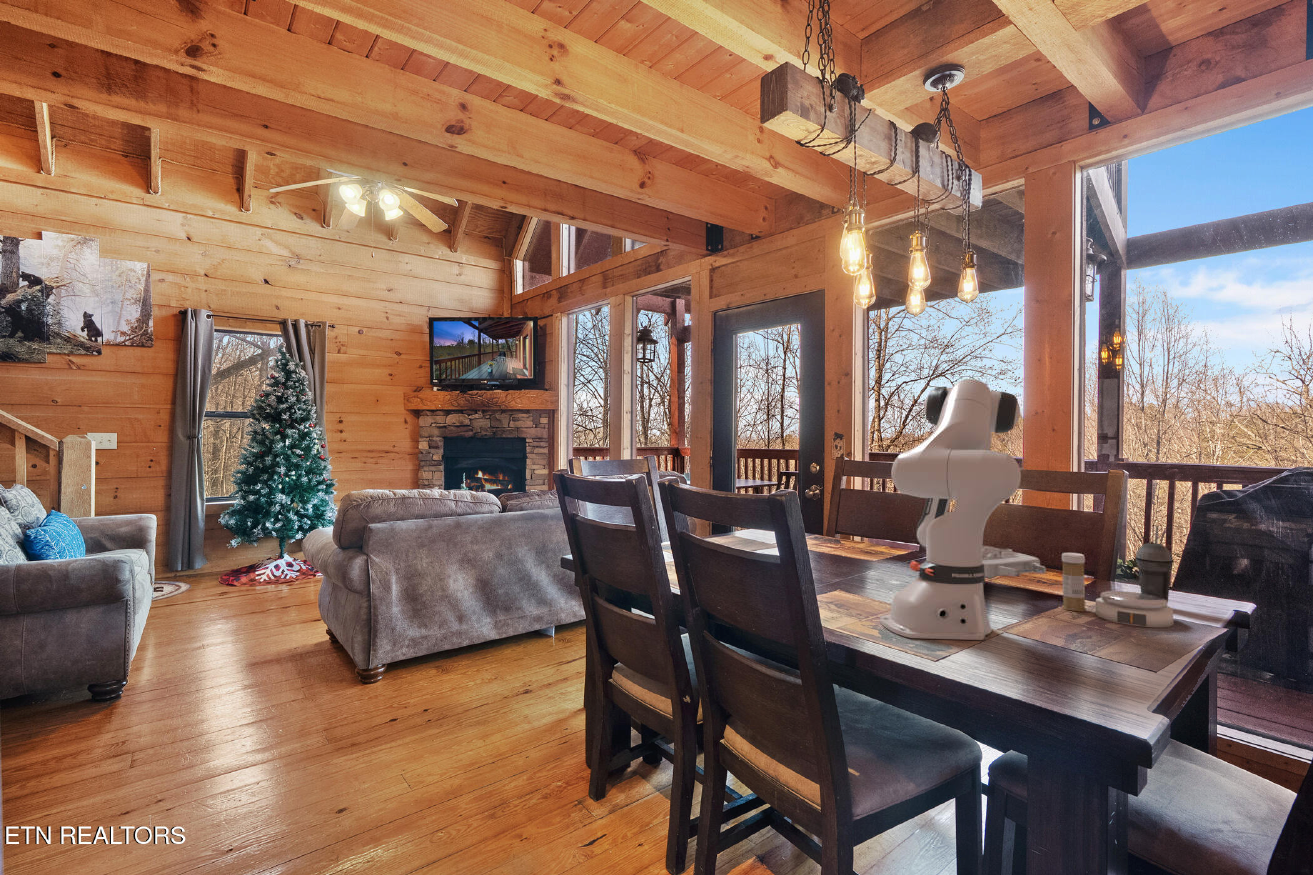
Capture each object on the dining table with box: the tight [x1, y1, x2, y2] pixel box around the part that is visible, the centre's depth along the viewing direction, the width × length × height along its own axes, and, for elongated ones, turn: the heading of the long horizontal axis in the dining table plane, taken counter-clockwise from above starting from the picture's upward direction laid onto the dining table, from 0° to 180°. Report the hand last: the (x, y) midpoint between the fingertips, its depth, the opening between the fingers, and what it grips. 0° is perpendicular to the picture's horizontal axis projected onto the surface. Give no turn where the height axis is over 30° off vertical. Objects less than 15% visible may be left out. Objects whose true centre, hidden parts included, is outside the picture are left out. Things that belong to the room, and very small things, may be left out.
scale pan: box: [1100, 590, 1168, 609], centre depth 140 cm, size 12×12×1 cm
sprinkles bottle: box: [1061, 552, 1086, 613], centre depth 147 cm, size 5×5×14 cm
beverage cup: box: [1135, 525, 1175, 604], centre depth 149 cm, size 7×7×20 cm
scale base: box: [1095, 597, 1174, 628], centre depth 140 cm, size 14×14×3 cm
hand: (1030, 571), depth 157 cm, fingers open, 8 cm apart
